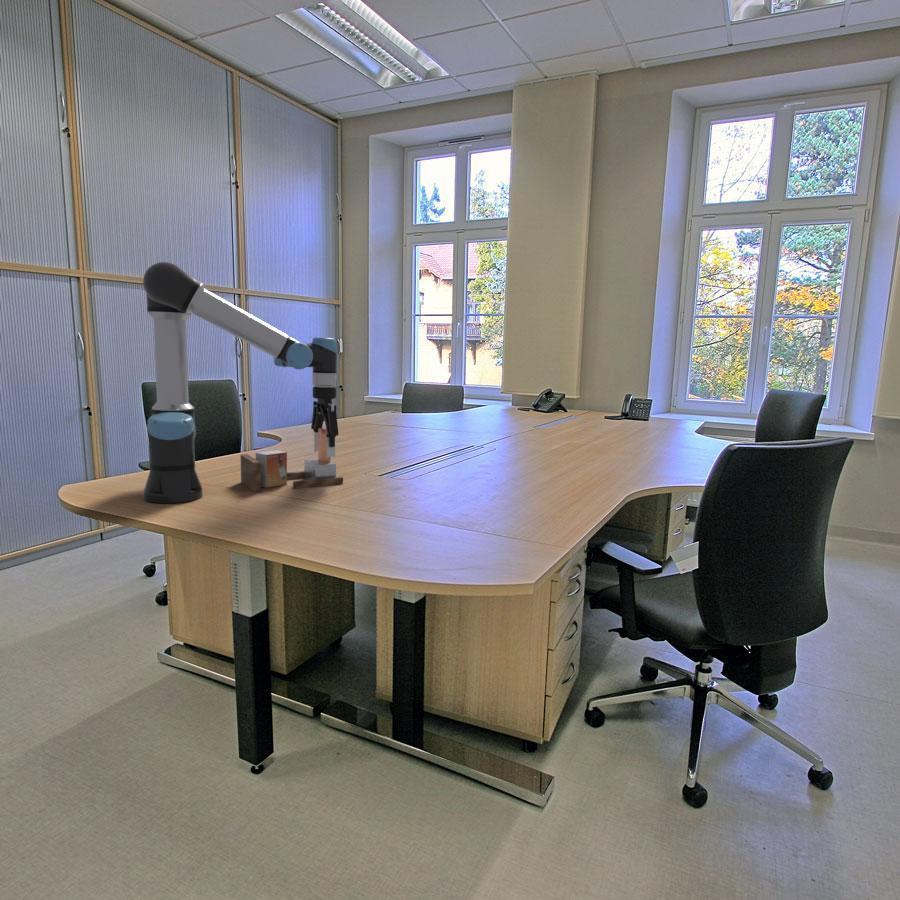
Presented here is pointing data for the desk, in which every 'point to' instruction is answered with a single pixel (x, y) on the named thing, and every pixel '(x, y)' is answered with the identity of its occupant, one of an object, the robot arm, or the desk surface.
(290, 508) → the desk surface
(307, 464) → the mallet
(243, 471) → the frame
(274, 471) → the small box
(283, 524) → the desk surface
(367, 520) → the desk surface
